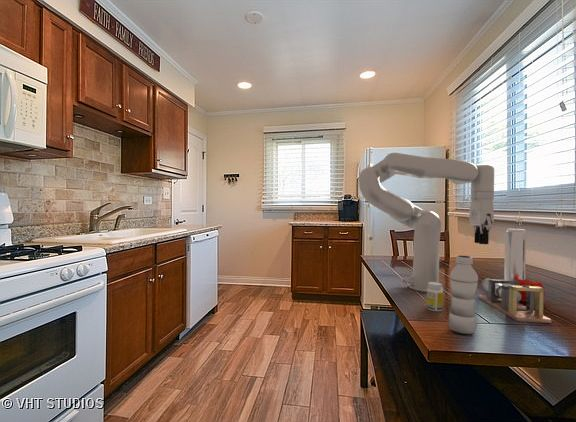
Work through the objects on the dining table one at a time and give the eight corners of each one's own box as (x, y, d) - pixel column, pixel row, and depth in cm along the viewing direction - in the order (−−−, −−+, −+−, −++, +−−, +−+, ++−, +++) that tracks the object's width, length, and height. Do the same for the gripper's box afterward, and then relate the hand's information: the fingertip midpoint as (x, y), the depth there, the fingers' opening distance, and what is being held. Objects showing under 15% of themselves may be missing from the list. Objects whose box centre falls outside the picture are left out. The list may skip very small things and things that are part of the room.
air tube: (505, 303, 98) (505, 289, 98) (480, 290, 114) (481, 277, 114) (521, 304, 98) (521, 289, 97) (494, 290, 113) (494, 278, 113)
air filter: (517, 290, 122) (518, 228, 122) (528, 295, 115) (530, 229, 115) (500, 290, 123) (501, 227, 122) (510, 294, 116) (511, 229, 116)
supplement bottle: (441, 308, 100) (442, 282, 100) (444, 312, 95) (444, 285, 95) (425, 306, 101) (426, 281, 101) (427, 310, 97) (427, 284, 97)
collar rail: (517, 321, 89) (518, 288, 88) (478, 297, 111) (479, 272, 111) (551, 323, 87) (552, 290, 87) (505, 299, 110) (505, 273, 110)
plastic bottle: (442, 327, 83) (444, 254, 83) (466, 327, 84) (467, 254, 83) (458, 337, 77) (459, 258, 76) (483, 337, 77) (484, 258, 77)
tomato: (506, 297, 112) (507, 277, 112) (531, 298, 112) (531, 277, 112) (525, 305, 103) (526, 283, 103) (552, 306, 103) (553, 284, 102)
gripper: (462, 197, 127) (462, 241, 127) (482, 195, 111) (481, 245, 111) (482, 197, 126) (481, 241, 127) (504, 195, 110) (503, 246, 110)
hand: (481, 243), depth 119 cm, fingers open, 2 cm apart
